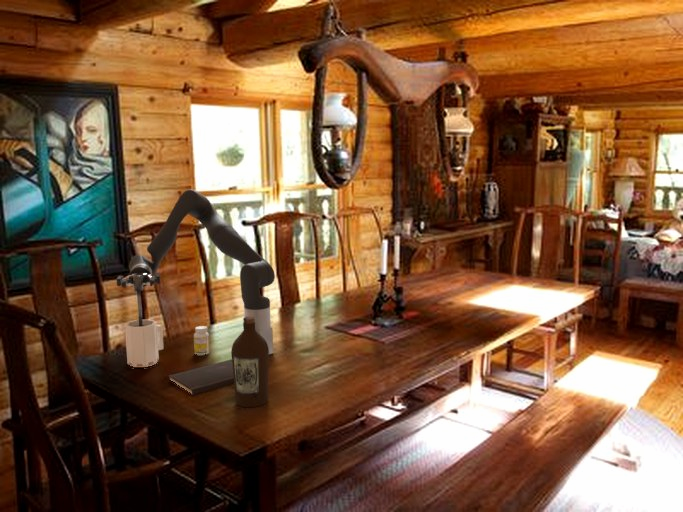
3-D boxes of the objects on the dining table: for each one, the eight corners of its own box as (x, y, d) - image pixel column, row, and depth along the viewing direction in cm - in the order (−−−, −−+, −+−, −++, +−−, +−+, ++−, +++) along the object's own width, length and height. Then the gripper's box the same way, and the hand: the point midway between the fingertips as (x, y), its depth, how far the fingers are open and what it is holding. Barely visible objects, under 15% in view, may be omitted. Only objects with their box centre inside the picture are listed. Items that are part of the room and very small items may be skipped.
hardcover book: (169, 382, 190) (168, 375, 189) (232, 365, 204) (232, 359, 204) (192, 397, 178) (192, 389, 177) (257, 378, 192) (257, 371, 192)
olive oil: (240, 393, 179) (237, 312, 175) (274, 394, 177) (272, 313, 173) (228, 407, 169) (224, 322, 165) (264, 409, 167) (261, 323, 163)
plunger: (155, 329, 203) (152, 275, 200) (137, 333, 198) (133, 278, 195) (144, 325, 208) (141, 273, 205) (126, 330, 203) (122, 276, 200)
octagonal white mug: (170, 361, 207) (168, 321, 205) (138, 371, 198) (135, 329, 196) (154, 355, 214) (152, 316, 211) (122, 364, 205) (119, 323, 202)
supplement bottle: (203, 356, 213) (202, 330, 211) (191, 354, 215) (190, 328, 213) (212, 351, 217) (211, 326, 216) (200, 350, 220) (199, 324, 218)
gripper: (119, 265, 212) (114, 274, 196) (160, 263, 216) (159, 271, 200) (120, 286, 213) (116, 296, 198) (162, 283, 217) (160, 293, 201)
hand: (137, 284), depth 199 cm, fingers open, 8 cm apart
